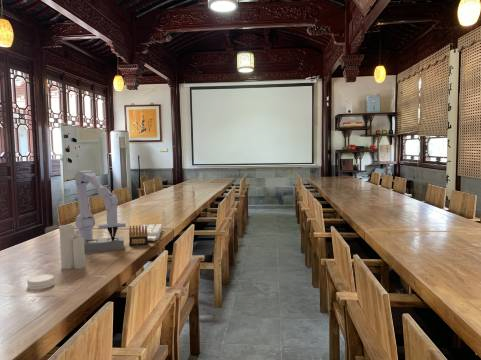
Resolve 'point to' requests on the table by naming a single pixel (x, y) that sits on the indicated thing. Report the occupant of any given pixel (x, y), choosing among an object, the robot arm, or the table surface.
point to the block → (103, 244)
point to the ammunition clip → (139, 239)
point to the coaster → (40, 282)
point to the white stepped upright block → (71, 248)
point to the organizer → (152, 231)
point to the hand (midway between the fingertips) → (113, 240)
